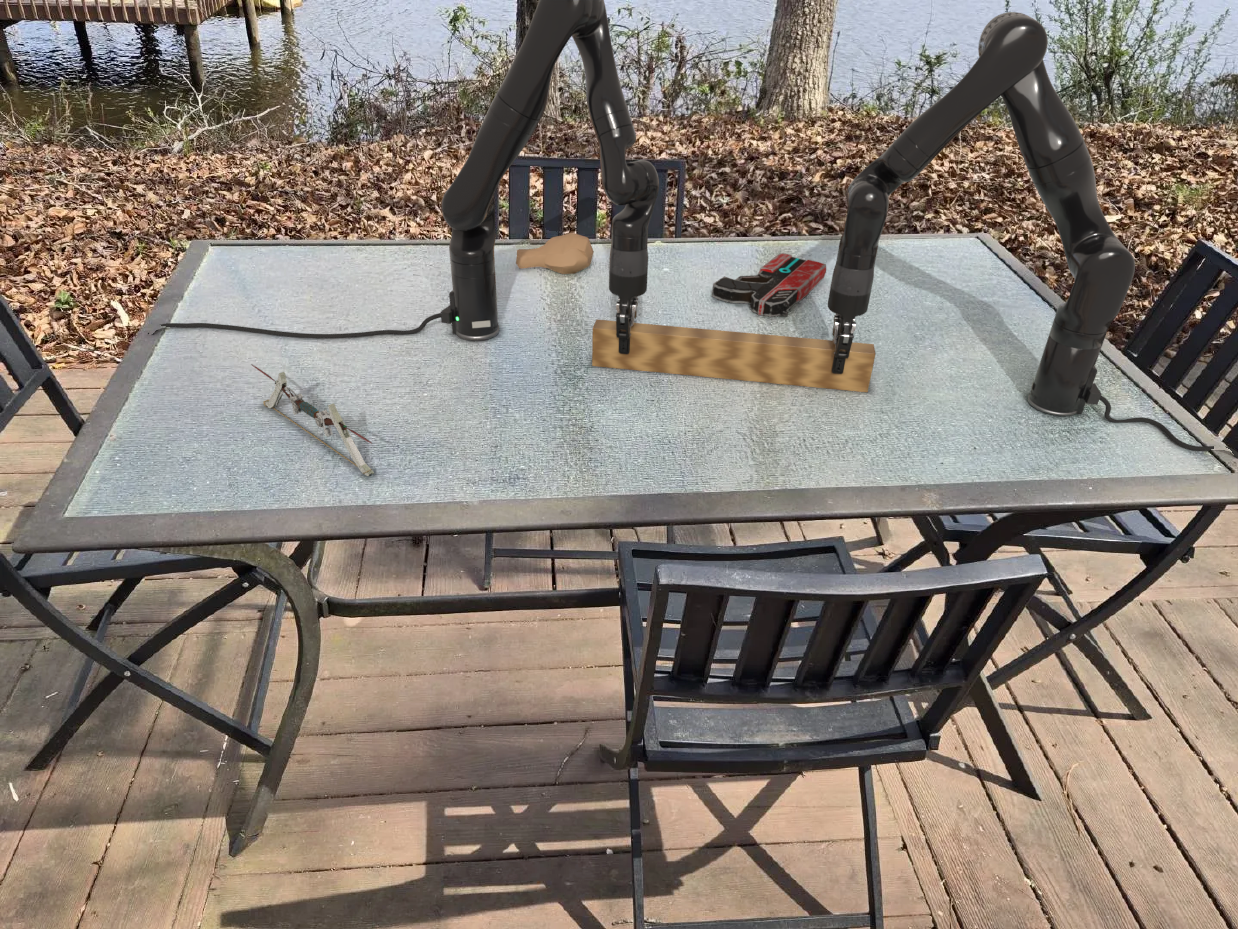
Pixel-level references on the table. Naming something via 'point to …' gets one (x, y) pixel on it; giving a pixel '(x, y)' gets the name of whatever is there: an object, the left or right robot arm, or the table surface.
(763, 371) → the post
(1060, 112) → the right robot arm
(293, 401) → the bow
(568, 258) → the squash
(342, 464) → the table surface
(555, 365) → the table surface
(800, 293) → the gun
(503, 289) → the table surface
